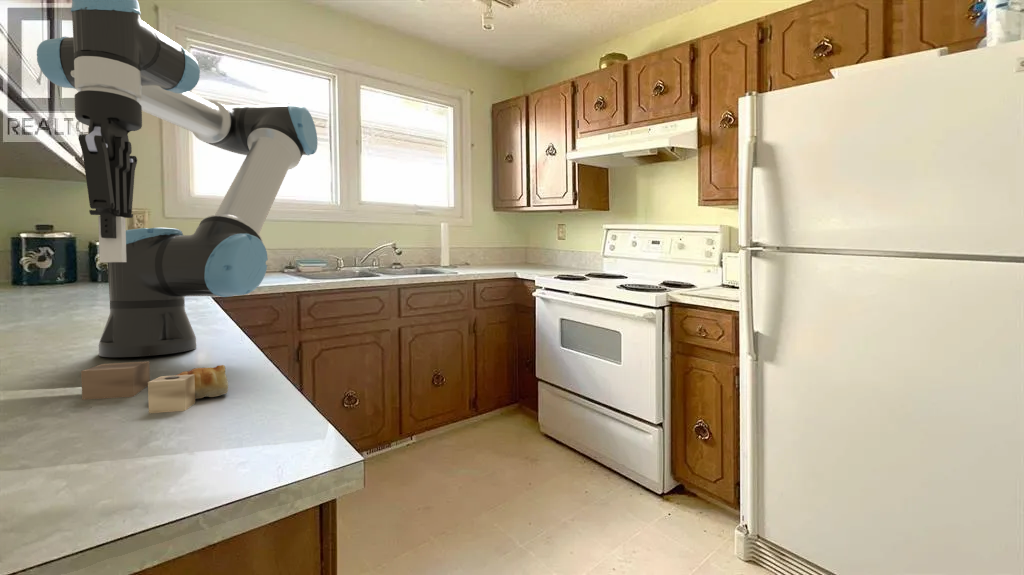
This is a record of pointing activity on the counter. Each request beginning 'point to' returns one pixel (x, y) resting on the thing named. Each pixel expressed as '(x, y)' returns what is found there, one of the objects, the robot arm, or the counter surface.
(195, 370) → the pastry
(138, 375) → the walnut block
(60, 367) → the counter surface
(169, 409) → the beech block
